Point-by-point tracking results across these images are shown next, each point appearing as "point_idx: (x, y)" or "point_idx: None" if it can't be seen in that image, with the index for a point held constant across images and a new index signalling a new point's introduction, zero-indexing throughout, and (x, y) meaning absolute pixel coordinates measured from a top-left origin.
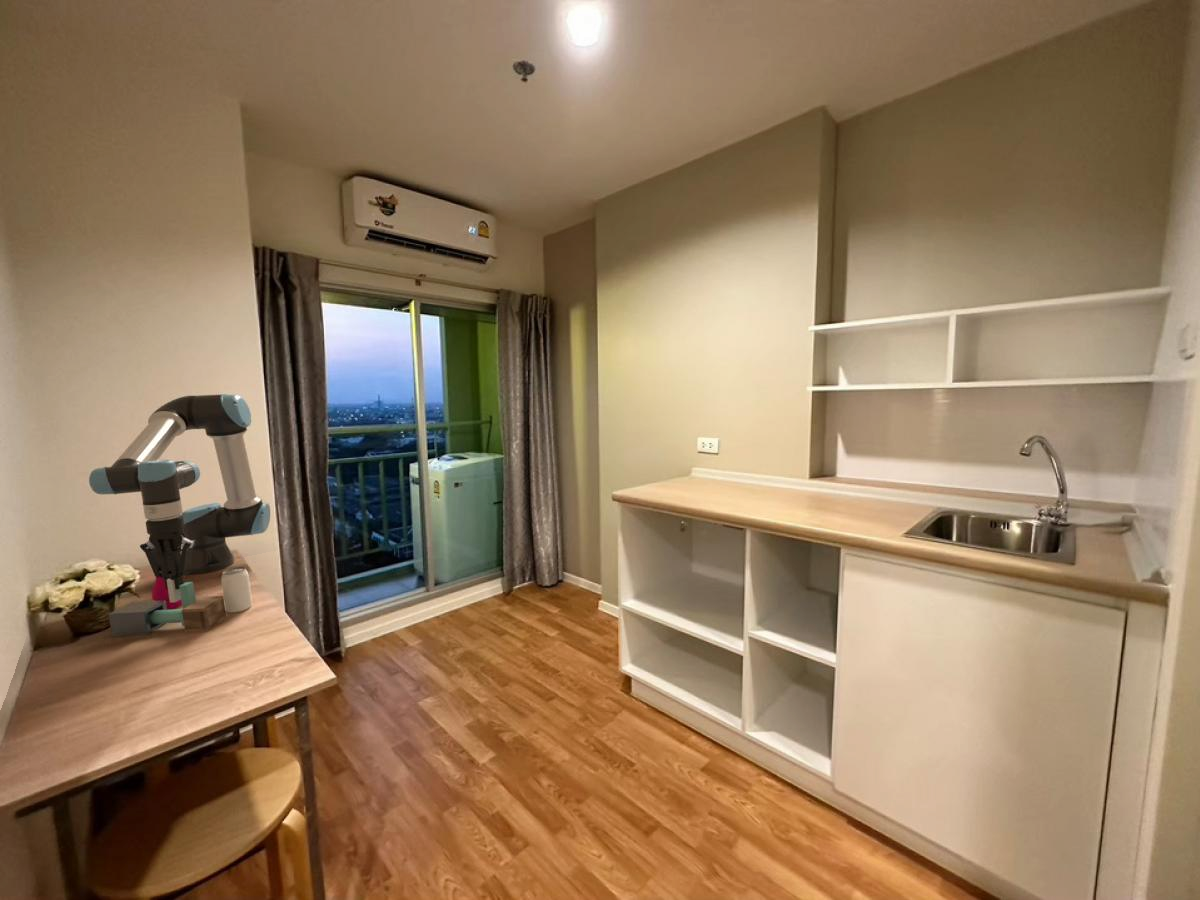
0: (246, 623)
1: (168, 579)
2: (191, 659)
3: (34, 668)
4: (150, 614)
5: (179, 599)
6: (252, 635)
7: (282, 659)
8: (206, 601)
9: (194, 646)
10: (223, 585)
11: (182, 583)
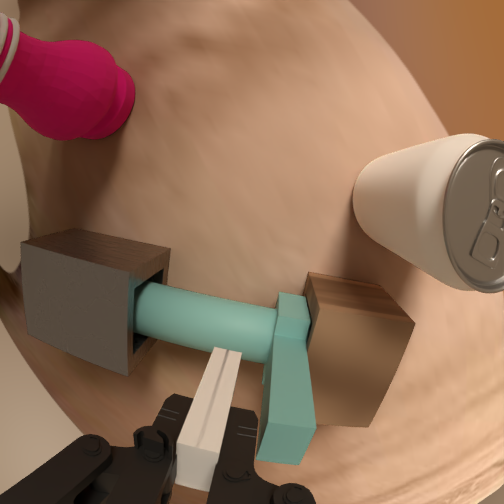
0: (445, 342)
1: (184, 484)
2: (359, 472)
3: (51, 394)
4: (133, 331)
5: (237, 374)
6: (459, 405)
7: (485, 466)
8: (360, 369)
9: (347, 435)
10: (417, 265)
11: (254, 436)
